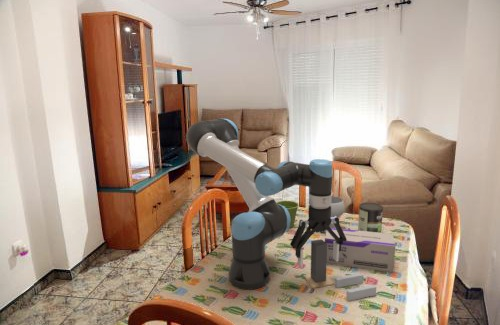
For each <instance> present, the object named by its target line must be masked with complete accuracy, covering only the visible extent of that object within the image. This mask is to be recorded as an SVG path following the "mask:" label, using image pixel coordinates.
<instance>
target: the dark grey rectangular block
mask: <svg viewBox="0 0 500 325" xmlns="http://www.w3.org/2000/svg"><path fill="white" fill-rule="evenodd" d="M310 245H311V247H310V248H311V249H310V274H311V278H312V279H313V280H314V281H315V283H318V282H323V281H326V275H327V265H328V263H327V244H326V243H325V240H323V239H322V238H321V239H316V240H315V239H313V240H311V244H310Z"/></svg>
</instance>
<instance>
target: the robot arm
mask: <svg viewBox="0 0 500 325" xmlns="http://www.w3.org/2000/svg"><path fill="white" fill-rule="evenodd" d="M185 136H186V137H185V138H186V139H185V140H186V143H187V146H188V147H189V148H190V149H191V150H192V151H193V152H194V153H195V154H197V155H199V156H200V157H205V158H206V157H208V158H210V159H211V160H213V161H214V162H217V163H218V164H220V165H221V166H223V167H225V169H226V171H227V172H228V174H229V176H230V177H231V179H232V181H233V183H234V184H235V186H236V188H237V189H238V191H239V193H240V195H241V197H242V199H243V200H244V202H245V203H246V205H247V206H248V208H249V209H248V211H247V212H242V213H240V214H237V215H236V216H235V217H234V218H233V219H232V221H231V229H230V234H231V249H232V259H231V264H230V267H229V270H228V282H230V284H231V285H232V286H234V287H236V288H238V289H241V290H242V289H243V290H256V289H260V288H262V287H264V286H266V285H267V284H268V283H269V282H270V280H271V270H270V267H269V264H268V261H267V259H266V246H267V245H268V244H270V243H271V242H272V241H274V240H277V239H278V238H280V237H282V236H283V235H284V234H286V232H287V231H288V230H289V229H290V228H291V227H290V222H291V218H290V214H289V212H288V210H287V209H286V208H285V207H284V206H282V205H280V204H277V203H276V202H277V201H276V200H275V199H274V198H273V197H271V196H274V195H277V194H279V193H280V192H282V191H284V190H285V191H286V190H287V189H290V188H291V187H293V186H302V187H308V212H307V213H308V219H307V220H304V219H299V224H298V227H297V229H296V231H295V234H294V235H293V237H292V239H291V241H290V246H291V248H292V250H293V249H294V250H295V253H294V254H295V257H296V259H297V265H298V266H299V268H303V267H304V249H303V247H304V246H305V244H306V243H307V242H308V240H309V239H310V238H311V236H313V235H314V234H315V233H321V232H322V233H324V232H325V230H327V231H328V232H329V233H330V234H331V236H332V237H333V238H334V239H335V240H336V241H333V259H334V260H335V261H336V262H337V261H338V260H339V251H341V245H342V244H343V241H346V240H347V239H346V237H345V234H344V232H343V230H342V229H343V228H341V227H342V226H341V223H340V218H339V217H336V216H335V215H334V216H333V217H331V199H332V196H333V195H332V193H333V192H332V190H333V176H334V173H333V163H332V161H330V160H328V159H323V158H322V159H320V158H317V159H316V158H315V159H311V160H310V161H309V163H308V164H307V163H300V162H294V161H281V162H280V163H279V164H278V166H277V167H276V168H274V167H272V166H270V165H269V164H266V163H265V162H263V161H261V160H259V159H257V158H255V157H253V156H252V155H249V154H248V153H246V152H244V151H242V150H240V147H239V143H240V141H239V130H238V126H237V124H235V122H234V121H232V120H230V119H229V118H220V117H219V118H215V119H206V120H199V121H198V120H197V121H196V122H194V123H193V124H191V125H190V126H189V127H188V129H187V131H186V135H185ZM269 196H270V197H269ZM330 217H331V218H330ZM331 221H332V222H331ZM330 223H333V224H334V226H335V228H336V230H337V232H338V234H339V236H340V237H338V236H337V235H336V234H335V233H334V232H333V231H332V229H331V228H330V227H329V225H330ZM289 227H290V228H289Z"/></svg>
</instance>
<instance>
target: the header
mask: <svg viewBox="0 0 500 325" xmlns="http://www.w3.org/2000/svg"><path fill="white" fill-rule="evenodd" d="M363 283H364V274H363V273H361V272H357V273H352V274H347V275H342V276H337V277H335V278H334V286H335V287H336V288H337V289H338V288H342V287H343V288H344V287H348V286H354V285H358V284H363ZM369 296H370V297H374V296H377V286H376V285H375V284H370V285H365V286H361V287H360V286H359V287H356V288H349V289H346V296H345V299H347V301H348V302H350V301H355V300H360V298H361V299H365V297H366V298H369Z"/></svg>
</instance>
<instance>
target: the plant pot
mask: <svg viewBox="0 0 500 325" xmlns="http://www.w3.org/2000/svg"><path fill="white" fill-rule="evenodd" d="M275 202H276V203H277V204H280V205H282V206H284V207H285V208H286V209H287V210H288V212H289V214H290V218H291V222H290V227H289V229H290V228H294V226H295V222H296V217H297V211H298V208H299V206H300V204H299V203H298V202H297V201H293V200H280V201H275Z"/></svg>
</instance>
